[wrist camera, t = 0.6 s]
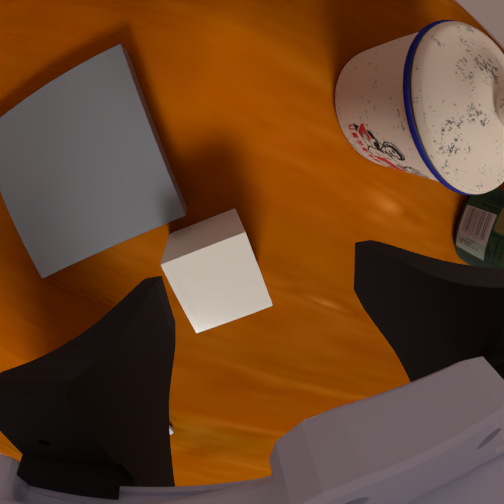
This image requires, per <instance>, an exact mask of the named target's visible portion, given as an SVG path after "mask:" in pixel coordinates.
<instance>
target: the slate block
mask: <svg viewBox="0 0 504 504" xmlns="http://www.w3.org/2000/svg"><path fill="white" fill-rule="evenodd" d="M0 192H1V194H2V197H3V199H4V202H5V204H6V206H7V209H8V211H9V213H10V216H11V218H12V220H13V222H14V225H15V227H16V229H17V231H18V233H19V235H20V237H21V239H22V241H23V243H24V246H25V248H26V249H27V251H28V253H29V255H30V257H31V259H32V261H33V263H34V265H35V267H36V268H37V270H38V272H39V274H40V276H41V277H42V279H43V278H45V277H47V276H49V275H51V274H53V273H55V272H57V271H59V270H62V269H64V268H66V267H68V266H70V265H72V264H74V263H77V262H79V261H81V260H83V259H85V258H87V257H90V256H92V255H94V254H96V253H98V252H101V251H103V250H105V249H107V248H110V247H112V246H114V245H116V244H119V243H121V242H123V241H126V240H128V239H130V238H133V237H135V236H137V235H140V234H142V233H144V232H147V231H149V230H152V229H154V228H156V227H159V226H161V225H164V224H166V223H169V222H171V221H173V220H176V219H178V218H181V217H183V216H186V212H187V205H186V203H185V200H184V198H183V195H182V193H181V191H180V188H179V186H178V183H177V181H176V178H175V176H174V173H173V171H172V168H171V166H170V163H169V161H168V158H167V155H166V153H165V150H164V148H163V145H162V143H161V140H160V137H159V135H158V132H157V130H156V127H155V124H154V122H153V119H152V116H151V114H150V111H149V108H148V106H147V103H146V100H145V97H144V95H143V92H142V89H141V86H140V84H139V81H138V78H137V75H136V72H135V70H134V67H133V64H132V61H131V58H130V55H129V52H128V51H127V50H126V49H125V48H124V47H123V46H122V45H121V44H119V45H117V46H114V47H112V48H110V49H108V50H106V51H104V52H102V53H100V54H98V55H96V56H94V57H93V58H91V59H89V60H87V61H85V62H83V63H81V64H80V65H78V66H76V67H74V68H73V69H71V70H69V71H67V72H66V73H64V74H62V75H61V76H59V77H57V78H56V79H54V80H53V81H51V82H49V83H48V84H46V85H45V86H43V87H42V88H40V89H39V90H37V91H36V92H34V93H33V94H31V95H30V96H29V97H27V98H26V99H24V100H23V101H22V102H20V103H19V104H17V105H16V106H15V107H13V108H12V109H11V110H9V111H8V112H7V113H6V114H4V115H3V116H2V117H0Z"/></svg>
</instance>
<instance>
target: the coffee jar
mask: <svg viewBox="0 0 504 504" xmlns="http://www.w3.org/2000/svg"><path fill="white" fill-rule="evenodd" d="M455 249H456V252H457V254H458V256H459V257H460V259H462V260H463V261H464V262H466V263H467V264H469V265H470V266H478V267H488V268H504V191H503V190H500V189H497V188H495V189H493V190H491V191H489V192H487V193H483V194H477V195H470V197H469V198H468V200H467V202H466V203H465V205H464V207H463V209H462V212H461V214H460V217H459V220H458V223H457V229H456V235H455Z"/></svg>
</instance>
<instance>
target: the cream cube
mask: <svg viewBox="0 0 504 504" xmlns="http://www.w3.org/2000/svg"><path fill="white" fill-rule="evenodd" d="M161 267H162V269H163V271H164V273H165V275H166V277H167V279H168V281H169V283H170V285H171V287H172V289H173V291H174V293H175V294H176V296H177V298H178V300H179V302H180V304H181V306H182V308H183V310H184V312H185V313H186V315H187V317H188V319H189V321H190V323H191V324H192V326H193V328H194V330H195V332H196V333H199V332H202V331H205V330H207V329H210V328H213V327H216V326H219V325H222V324H224V323H227V322H230V321H233V320H236V319H238V318H241V317H244V316H246V315H249V314H252V313H255V312H257V311H260V310H263V309H265V308H268V307H270V306H273V305H272V302H271V299H270V297H269V294H268V291H267V289H266V286H265V283H264V281H263V278H262V275H261V272H260V270H259V267H258V264H257V262H256V259H255V256H254V254H253V251H252V248H251V245H250V243H249V240H248V237H247V235H246V232H245V230H244V227H243V225H242V223H241V220H240V218H239V216H238V214H237V211H236V209H232V210H229V211H227V212H224V213H221V214H219V215H216V216H214V217H211V218H208V219H206V220H203V221H201V222H198V223H196V224H193V225H190V226H188V227H185V228H183V229H180V230H178V231H175V232H173V233H170V234H169V236H168V239H167V243H166V246H165V250H164V254H163V257H162V261H161Z"/></svg>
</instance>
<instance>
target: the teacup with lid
mask: <svg viewBox="0 0 504 504" xmlns="http://www.w3.org/2000/svg"><path fill="white" fill-rule="evenodd" d="M335 107H336V113H337V117H338V121H339V124H340V126H341V129H342V131H343V133H344V135H345V136H346V138H347V140H348V141H349V142H350V144H351V145H352V146H353V147H354V148H355V149H356V150H357V151H358V152H359V153H360V154H361V155H362V156H364V157H365V158H367V159H368V160H370V161H372V162H374V163H377V164H380V165H383V166H387V167H391V168H395V169H398V170H402V171H405V172H409V173H412V174H416V175H419V176H422V177H426V178H429V179H432V180H435V181H439V182H440V183H442V184H443V185H444V186H446V187H447V188H449V189H450V190H452V191H454V192H457V193H460V194H464V195H477V194H483V193H487V192H489V191H491V190H493V189H495V188H497V187H498V186H499V185H501V184H502V183H503V182H504V54H503V53H502V51H501V50H500V49H499V48H498V46H497V45H496V44H495V43H494V42H493V41H492V40H491V39H490V38H489V37H488V36H487V35H485V34H484V33H483V32H481V31H480V30H478V29H476V28H474V27H473V26H470V25H468V24H465V23H462V22H457V21H452V20H441V21H436V22H433V23H431V24H429V25H427V26H426V27H424V28H423V29H422V30H421V31H420V32H417V33H413V34H410V35H407V36H404V37H401V38H398V39H395V40H393V41H390V42H387V43H384V44H381V45H379V46H376V47H373V48H371V49H368V50H366V51H363V52H361V53H359V54H357V55H356V56H354V57H353V58H352V59H351V60H349V62H348V63H347V64H346V65H345V66H344V68H343V69H342V71H341V73H340V75H339V78H338V81H337V85H336V90H335Z"/></svg>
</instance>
